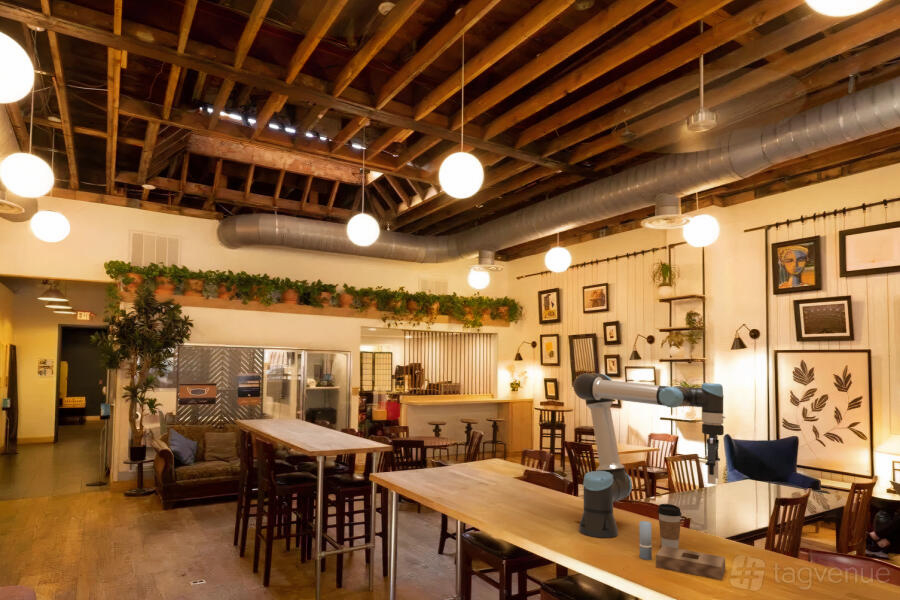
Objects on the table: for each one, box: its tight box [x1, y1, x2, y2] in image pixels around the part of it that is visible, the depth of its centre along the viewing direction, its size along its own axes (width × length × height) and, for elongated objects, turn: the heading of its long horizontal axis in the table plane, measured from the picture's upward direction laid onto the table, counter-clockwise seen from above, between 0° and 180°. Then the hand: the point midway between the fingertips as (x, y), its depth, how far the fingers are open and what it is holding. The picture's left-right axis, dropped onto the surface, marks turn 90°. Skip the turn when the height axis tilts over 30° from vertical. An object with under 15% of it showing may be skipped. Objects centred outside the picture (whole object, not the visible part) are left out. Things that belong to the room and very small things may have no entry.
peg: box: [638, 520, 653, 561], centre depth 199 cm, size 4×4×12 cm
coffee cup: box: [657, 503, 682, 549], centre depth 212 cm, size 8×8×15 cm
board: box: [655, 545, 726, 581], centre depth 189 cm, size 20×12×4 cm, turn 59°
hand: (713, 480), depth 213 cm, fingers open, 13 cm apart
